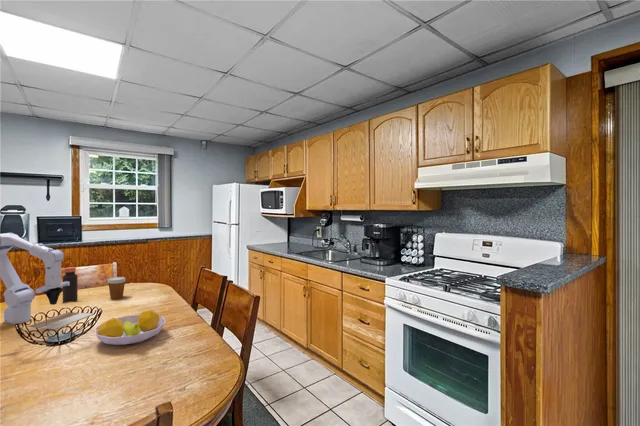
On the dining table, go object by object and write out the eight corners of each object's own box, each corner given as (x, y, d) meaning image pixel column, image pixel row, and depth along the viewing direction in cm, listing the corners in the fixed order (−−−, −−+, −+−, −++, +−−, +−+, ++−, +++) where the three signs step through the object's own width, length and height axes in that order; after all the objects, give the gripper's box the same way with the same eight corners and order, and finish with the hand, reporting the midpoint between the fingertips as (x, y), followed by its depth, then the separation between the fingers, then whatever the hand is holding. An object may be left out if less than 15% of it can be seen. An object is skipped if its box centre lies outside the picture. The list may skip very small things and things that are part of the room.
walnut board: (26, 329, 143) (26, 326, 143) (68, 314, 163) (68, 312, 163) (39, 330, 142) (39, 327, 142) (80, 315, 162) (80, 313, 162)
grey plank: (40, 330, 142) (40, 327, 142) (81, 315, 162) (81, 313, 162) (54, 331, 141) (54, 328, 141) (94, 315, 160) (93, 313, 160)
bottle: (64, 304, 178) (64, 269, 177) (61, 302, 182) (61, 267, 182) (79, 301, 183) (79, 267, 183) (75, 299, 187) (75, 266, 187)
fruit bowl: (104, 330, 144) (104, 305, 144) (169, 324, 153) (169, 301, 153) (80, 358, 118) (80, 328, 117) (161, 349, 127) (161, 321, 126)
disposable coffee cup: (108, 296, 195) (109, 277, 194) (126, 295, 199) (127, 276, 198) (105, 301, 186) (106, 280, 186) (124, 299, 190) (124, 279, 190)
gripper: (44, 279, 142) (44, 309, 142) (74, 273, 156) (74, 300, 156) (31, 278, 143) (31, 308, 143) (62, 272, 157) (62, 299, 158)
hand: (53, 304), depth 150 cm, fingers closed
